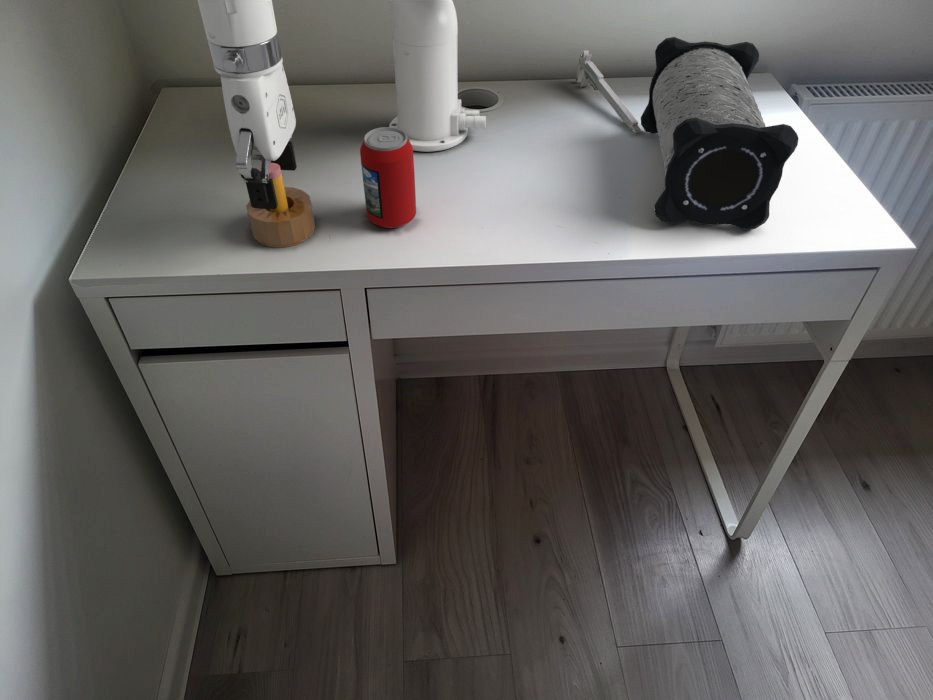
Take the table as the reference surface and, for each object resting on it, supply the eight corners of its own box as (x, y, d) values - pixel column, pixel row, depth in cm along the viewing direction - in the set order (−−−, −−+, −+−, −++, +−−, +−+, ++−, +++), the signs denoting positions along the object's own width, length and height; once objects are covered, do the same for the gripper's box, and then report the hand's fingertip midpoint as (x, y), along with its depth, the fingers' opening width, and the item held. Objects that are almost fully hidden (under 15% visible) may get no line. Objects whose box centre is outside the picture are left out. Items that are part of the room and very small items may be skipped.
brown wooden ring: (321, 213, 98) (317, 188, 95) (306, 249, 92) (301, 223, 89) (263, 210, 98) (257, 185, 96) (245, 245, 93) (238, 220, 90)
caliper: (575, 83, 127) (579, 47, 123) (580, 82, 128) (584, 46, 123) (635, 135, 114) (642, 97, 110) (641, 133, 114) (648, 96, 110)
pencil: (294, 222, 96) (282, 163, 89) (289, 233, 94) (277, 173, 88) (276, 221, 96) (263, 162, 90) (271, 232, 94) (258, 172, 88)
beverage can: (367, 205, 99) (358, 125, 91) (415, 203, 100) (411, 123, 91) (367, 233, 95) (357, 151, 86) (417, 231, 95) (413, 149, 87)
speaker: (730, 132, 114) (760, 38, 104) (765, 238, 94) (807, 134, 84) (637, 126, 115) (657, 31, 104) (652, 228, 95) (679, 124, 84)
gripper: (255, 87, 72) (286, 228, 84) (299, 22, 84) (320, 154, 97) (184, 84, 72) (224, 225, 85) (237, 20, 85) (266, 151, 97)
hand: (275, 187), depth 91 cm, fingers open, 8 cm apart
